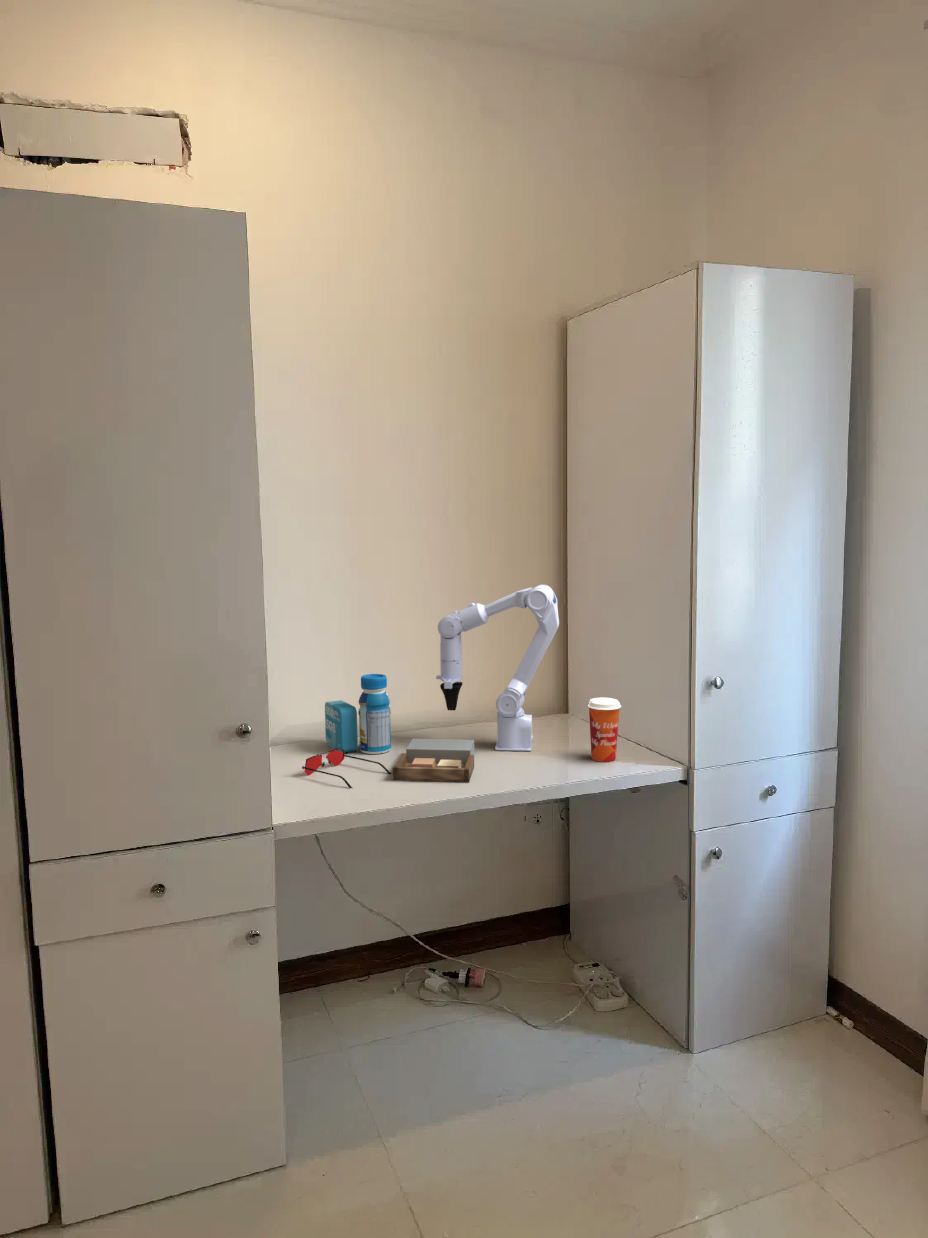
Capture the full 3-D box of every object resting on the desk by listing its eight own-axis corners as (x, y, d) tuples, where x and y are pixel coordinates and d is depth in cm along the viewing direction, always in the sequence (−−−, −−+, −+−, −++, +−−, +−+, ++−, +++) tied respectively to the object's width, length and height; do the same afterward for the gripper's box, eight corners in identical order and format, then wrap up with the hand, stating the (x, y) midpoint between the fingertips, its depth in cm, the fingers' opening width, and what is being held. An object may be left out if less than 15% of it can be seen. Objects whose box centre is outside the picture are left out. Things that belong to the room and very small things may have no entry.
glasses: (342, 764, 221) (341, 744, 220) (391, 775, 211) (391, 755, 211) (301, 778, 210) (300, 757, 209) (351, 790, 200) (350, 769, 200)
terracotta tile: (432, 764, 209) (432, 772, 210) (435, 758, 214) (435, 766, 215) (411, 764, 210) (411, 772, 210) (415, 758, 215) (415, 766, 215)
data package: (325, 744, 238) (324, 700, 237) (341, 741, 240) (340, 699, 239) (342, 754, 228) (340, 709, 226) (358, 752, 230) (357, 707, 228)
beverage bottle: (380, 756, 226) (378, 680, 223) (353, 752, 229) (351, 677, 227) (397, 748, 233) (396, 674, 230) (370, 744, 237) (368, 671, 234)
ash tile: (458, 766, 208) (458, 774, 208) (461, 760, 213) (461, 768, 213) (437, 765, 208) (437, 773, 209) (440, 759, 213) (440, 767, 214)
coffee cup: (589, 763, 218) (589, 704, 216) (585, 754, 226) (585, 697, 224) (623, 763, 217) (623, 704, 216) (618, 754, 226) (618, 697, 224)
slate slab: (474, 754, 226) (474, 739, 226) (470, 766, 216) (470, 750, 216) (413, 753, 228) (412, 738, 228) (406, 764, 218) (406, 749, 218)
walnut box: (474, 766, 216) (474, 754, 216) (469, 782, 204) (469, 769, 203) (402, 765, 218) (402, 753, 218) (392, 780, 206) (392, 768, 205)
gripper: (440, 655, 242) (440, 703, 243) (432, 664, 227) (433, 716, 229) (465, 655, 241) (465, 703, 243) (459, 665, 226) (460, 716, 228)
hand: (451, 709), depth 236 cm, fingers closed
